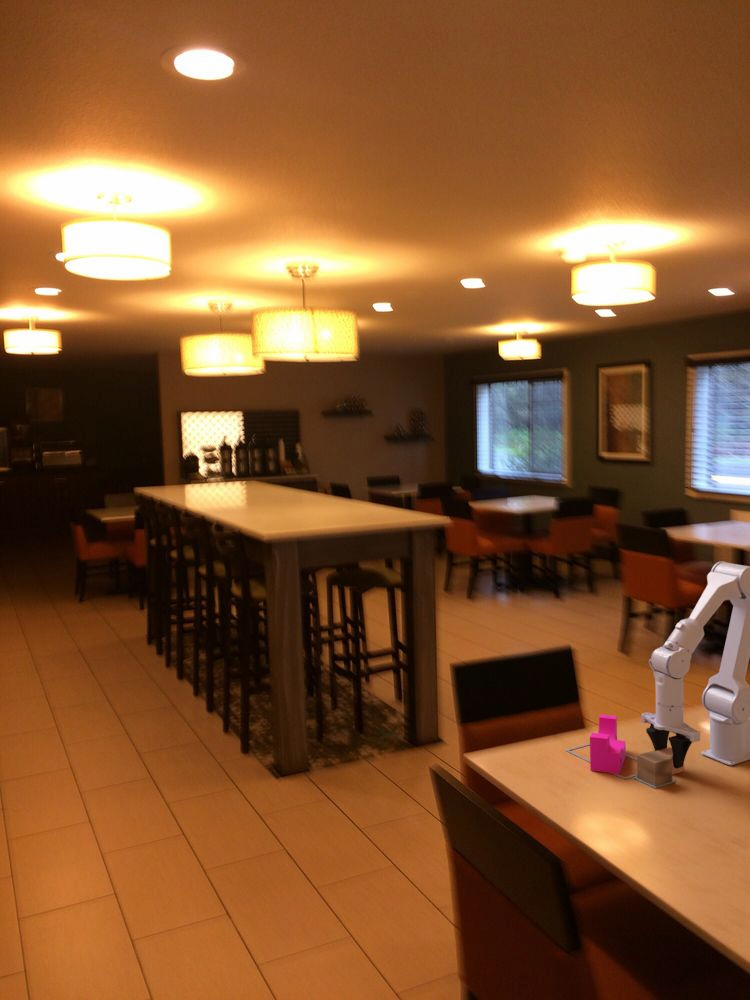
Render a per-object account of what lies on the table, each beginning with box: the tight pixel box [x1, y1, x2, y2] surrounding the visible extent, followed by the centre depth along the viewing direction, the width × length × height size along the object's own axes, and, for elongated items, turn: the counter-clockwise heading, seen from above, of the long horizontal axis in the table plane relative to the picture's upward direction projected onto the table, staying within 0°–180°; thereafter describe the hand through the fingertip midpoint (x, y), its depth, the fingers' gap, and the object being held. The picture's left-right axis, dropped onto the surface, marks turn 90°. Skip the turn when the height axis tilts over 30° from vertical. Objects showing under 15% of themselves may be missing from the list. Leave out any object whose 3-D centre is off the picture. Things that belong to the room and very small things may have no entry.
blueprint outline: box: [565, 743, 676, 790], centre depth 177 cm, size 10×25×1 cm, turn 28°
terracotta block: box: [657, 746, 685, 775], centre depth 173 cm, size 4×4×4 cm
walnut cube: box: [636, 750, 673, 786], centre depth 168 cm, size 5×5×5 cm
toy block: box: [589, 714, 627, 775], centre depth 179 cm, size 15×6×8 cm, turn 155°
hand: (670, 763), depth 173 cm, fingers closed on terracotta block, 4 cm apart
